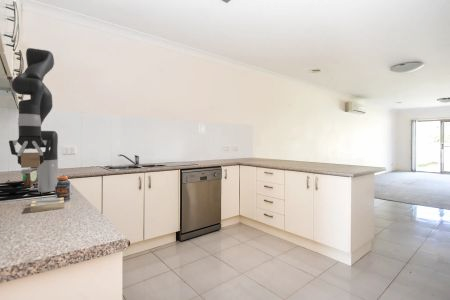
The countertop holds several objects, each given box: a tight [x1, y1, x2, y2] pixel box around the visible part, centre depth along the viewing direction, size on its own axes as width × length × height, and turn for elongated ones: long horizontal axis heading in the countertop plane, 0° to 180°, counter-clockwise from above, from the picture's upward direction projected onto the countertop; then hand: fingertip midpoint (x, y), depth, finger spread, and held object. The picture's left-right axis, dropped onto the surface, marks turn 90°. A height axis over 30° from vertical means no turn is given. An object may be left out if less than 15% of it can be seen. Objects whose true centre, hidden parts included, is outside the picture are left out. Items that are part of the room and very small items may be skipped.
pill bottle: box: [54, 175, 72, 202], centre depth 112 cm, size 6×6×11 cm
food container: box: [20, 167, 38, 187], centre depth 150 cm, size 12×6×10 cm, turn 21°
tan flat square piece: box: [29, 197, 65, 213], centre depth 101 cm, size 10×11×3 cm
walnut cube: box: [20, 151, 41, 169], centre depth 103 cm, size 6×6×6 cm
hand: (31, 164), depth 103 cm, fingers closed on walnut cube, 6 cm apart
